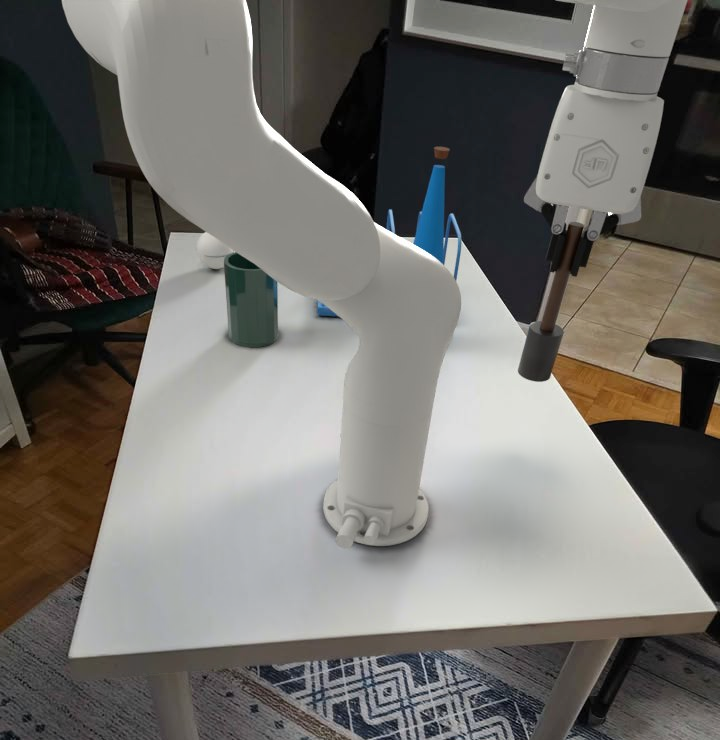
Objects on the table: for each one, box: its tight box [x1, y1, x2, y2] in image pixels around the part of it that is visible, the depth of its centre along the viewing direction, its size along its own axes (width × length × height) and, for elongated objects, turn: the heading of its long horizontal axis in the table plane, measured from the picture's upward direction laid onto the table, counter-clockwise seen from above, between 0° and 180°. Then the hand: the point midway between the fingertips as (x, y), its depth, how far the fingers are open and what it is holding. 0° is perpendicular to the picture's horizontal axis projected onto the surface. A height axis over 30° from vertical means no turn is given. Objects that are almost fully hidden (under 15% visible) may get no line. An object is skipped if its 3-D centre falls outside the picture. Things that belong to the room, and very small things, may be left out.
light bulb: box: [195, 231, 235, 270], centre depth 128 cm, size 10×7×7 cm
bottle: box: [412, 146, 450, 264], centre depth 103 cm, size 7×7×30 cm
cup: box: [223, 251, 279, 348], centre depth 105 cm, size 8×8×13 cm
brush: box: [517, 221, 585, 383], centre depth 74 cm, size 4×4×18 cm
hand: (563, 269), depth 71 cm, fingers closed on brush
